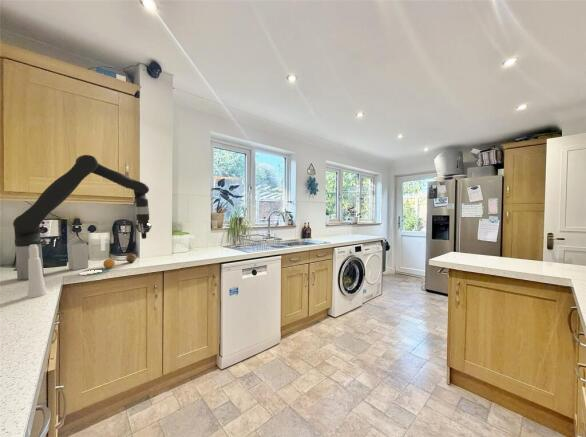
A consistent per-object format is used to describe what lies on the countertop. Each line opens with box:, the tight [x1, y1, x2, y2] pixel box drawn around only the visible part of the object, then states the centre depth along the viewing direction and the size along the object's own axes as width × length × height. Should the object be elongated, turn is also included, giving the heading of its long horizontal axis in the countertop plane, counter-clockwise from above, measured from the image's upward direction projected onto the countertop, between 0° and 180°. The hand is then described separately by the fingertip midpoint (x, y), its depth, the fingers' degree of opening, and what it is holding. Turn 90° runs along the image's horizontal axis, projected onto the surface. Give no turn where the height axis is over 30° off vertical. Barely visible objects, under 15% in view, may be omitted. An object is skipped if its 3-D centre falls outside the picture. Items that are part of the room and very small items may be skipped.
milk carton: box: [66, 235, 89, 271], centre depth 148 cm, size 7×7×19 cm
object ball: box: [102, 258, 116, 269], centre depth 149 cm, size 6×6×6 cm
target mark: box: [82, 267, 111, 277], centre depth 142 cm, size 14×14×1 cm
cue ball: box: [125, 253, 137, 263], centre depth 162 cm, size 6×6×6 cm
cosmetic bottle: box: [26, 244, 48, 299], centre depth 107 cm, size 6×6×22 cm
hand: (144, 238), depth 171 cm, fingers closed
